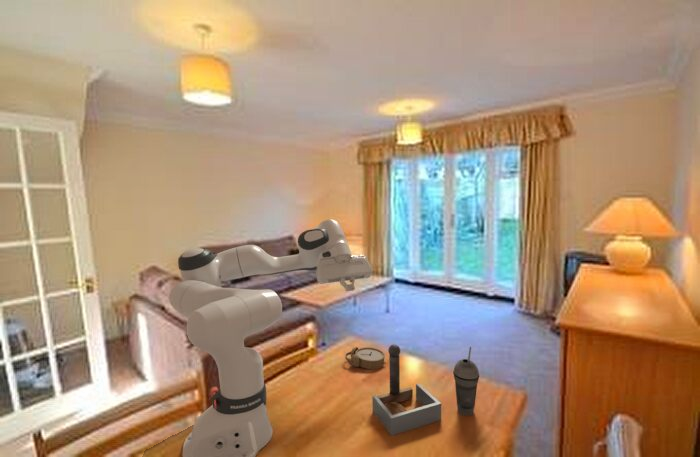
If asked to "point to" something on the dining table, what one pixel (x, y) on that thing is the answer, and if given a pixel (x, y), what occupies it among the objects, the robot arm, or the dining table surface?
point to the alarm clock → (366, 357)
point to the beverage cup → (466, 385)
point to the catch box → (409, 413)
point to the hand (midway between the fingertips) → (350, 290)
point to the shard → (395, 407)
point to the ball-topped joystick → (395, 380)
